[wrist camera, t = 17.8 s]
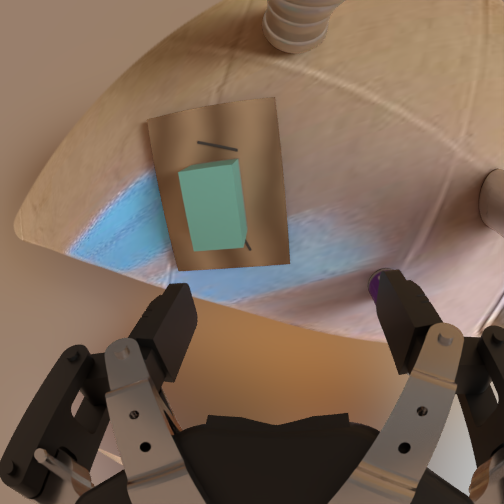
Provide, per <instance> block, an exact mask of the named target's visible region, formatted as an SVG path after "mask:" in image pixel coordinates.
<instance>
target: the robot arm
mask: <svg viewBox="0 0 504 504" xmlns="http://www.w3.org/2000/svg"><path fill="white" fill-rule="evenodd" d="M479 210H480V215H481V218H482V220H483V222H484V223H485V224H486V225H487V226H488V227H490V228H491V229H493V230H494V231H496V232H497V233H498V234H500V235H501V236H502V237H504V170H502V169H497V170H494V171H492V172H491V173H490V174H489V175H488V176H487V178H486V179H485V181H484V183H483V186H482V189H481V192H480V198H479ZM376 311H377V316H378V319H379V321H380V324H381V327H382V329H383V332H384V334H385V337H386V340H387V342H388V345H389V348H390V350H391V353H392V356H393V359H394V362H395V365H396V368H397V370H398V374H399V375H401V374H407V373H409V375H410V376H409V379H408V381H407V383H406V385H405V387H404V390H403V392H402V393H401V395H400V397H399V399H398V401H397V403H396V405H395V407H394V409H393V411H392V412H391V414H390V416H389V418H388V420H387V422H386V423H385V425H384V427H383V428H382V430H381V432H380V431H378V430H376V429H374V428H372V427H370V426H366V425H363V424H359V423H354V422H349V417H348V413H343V414H334V415H323V416H312V417H309V418H305V419H302V420H298V421H294V422H290V423H286V424H281V425H271V424H267V423H262V422H258V421H254V420H250V419H246V418H242V417H228V416H214V415H208V418H207V422H206V424H202V425H198V426H193V427H190V428H187V429H185V430H182V428H181V427H180V425H179V423H178V421H177V419H176V417H175V415H174V413H173V410H172V408H171V406H170V404H169V402H168V400H167V397H166V396H165V393H164V391H163V389H162V384H163V382H164V381H165V382H175V379H176V377H177V374H178V372H179V369H180V366H181V364H182V361H183V359H184V356H185V354H186V351H187V349H188V346H189V343H190V341H191V339H192V336H193V334H194V331H195V329H196V326H197V312H196V308H195V305H194V301H193V298H192V294H191V291H190V288H189V285H188V284H187V283H177V284H169V285H168V287H167V288H166V290H165V292H164V293H163V295H159V296H158V297H157V298H156V299H154V300H153V301H152V302H151V303H150V304H149V306H148V307H147V309H146V311H145V312H144V313H143V315H142V318H140V319H139V321H138V323H137V324H136V326H135V327H134V329H133V330H132V332H131V333H130V335H129V337H128V338H122V339H119V340H116V341H115V342H113V343H112V344H110V345H109V346H108V347H107V349H106V351H105V353H98V354H90V353H89V351H88V349H87V348H86V347H85V346H84V345H74V346H71V347H69V348H68V349H66V350H65V351H64V352H63V353H62V355H61V356H60V358H59V359H58V361H57V362H56V364H55V365H54V367H53V368H52V370H51V371H50V373H49V374H48V376H47V378H46V379H45V380H44V382H43V384H42V385H41V387H40V389H39V390H38V392H37V393H36V395H35V397H34V398H33V400H32V402H31V403H30V405H29V407H28V408H27V410H26V412H25V414H24V415H23V417H22V419H21V421H20V423H19V425H18V426H17V429H16V430H15V432H14V434H13V436H12V438H11V440H10V442H9V444H8V446H7V448H6V450H5V452H4V454H3V456H2V459H1V461H0V477H1V479H2V481H3V482H4V483H5V484H6V485H7V486H9V487H10V488H12V489H13V490H15V491H17V492H18V493H20V494H21V495H22V496H24V497H25V498H27V499H29V500H30V501H32V502H34V503H36V504H504V329H503V328H501V327H499V326H489V327H487V328H485V329H484V331H483V333H482V335H481V338H480V337H463V334H462V332H461V331H460V330H459V329H458V328H457V327H455V326H454V325H451V324H448V323H443V321H442V320H441V318H440V317H439V315H438V313H437V312H436V310H435V309H434V307H433V306H432V304H431V303H430V302H429V299H428V298H427V296H425V294H424V292H423V291H422V289H421V288H420V286H418V285H417V284H416V283H414V282H413V281H411V280H406V279H405V277H404V276H403V274H402V273H401V271H400V270H388V271H382V272H381V274H380V279H379V287H378V295H377V302H376ZM491 382H493V384H494V386H495V388H496V391H497V393H498V397H499V402H498V403H497V400H496V398H495V395H494V393H493V390H492V388H491V386H490V383H491ZM79 390H80V392H81V393H82V394H83V395H84V399H83V401H82V403H81V405H80V407H79V409H78V411H77V413H76V415H75V417H73V416H72V413H71V406H72V403H73V401H74V399H75V397H76V396H77V394H78V392H79ZM455 394H457V396H458V399H459V402H460V404H461V408H462V411H463V414H464V418H465V421H466V425H467V428H468V432H469V435H470V439H471V443H472V447H473V451H474V456H475V460H476V465H477V469H476V471H475V472H474V474H473V477H472V480H471V484H470V486H469V493H470V495H469V497H468V496H467V495H466V494H464V493H462V492H461V491H460V490H458V489H457V488H455V487H454V486H452V485H451V484H450V483H448V482H447V481H445V480H444V479H442V478H441V477H440V476H438V475H437V474H435V473H434V472H433V471H431V470H430V469H429V468H427V465H428V463H429V461H430V459H431V457H432V454H433V452H434V450H435V448H436V445H437V443H438V441H439V438H440V436H441V433H442V431H443V428H444V426H445V423H446V420H447V417H448V414H449V411H450V408H451V405H452V402H453V399H454V396H455ZM109 421H111V424H112V429H113V433H114V436H115V440H116V444H117V447H118V451H119V454H120V457H121V460H122V463H123V466H124V470H122V471H121V472H119V473H117V474H116V475H114V476H112V477H111V478H109V479H107V480H105V481H104V482H102V483H100V484H99V485H97V486H94V484H93V483H92V482H91V476H90V470H91V467H92V464H93V461H94V459H95V456H96V454H97V451H98V448H99V446H100V443H101V441H102V438H103V436H104V433H105V431H106V428H107V426H108V423H109Z"/></svg>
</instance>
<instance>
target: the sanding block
mask: <svg viewBox="0 0 504 504" xmlns="http://www.w3.org/2000/svg"><path fill="white" fill-rule="evenodd" d="M178 175H179V180H180V186H181V191H182V196H183V202H184V207H185V212H186V217H187V222H188V227H189V231H190V236H191V241H192V245H193V250H194V251H207V250H220V249H233V248H244V243H245V239H246V235H247V230H248V226H247V218H246V210H245V203H244V195H243V187H242V179H241V172H240V164H239V158H234V159H226V160H218V161H211V162H204V163H198V164H193V165H191V166H189V167H187V168H185V169H183V170H181V171H180V172H178Z"/></svg>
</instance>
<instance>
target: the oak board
mask: <svg viewBox="0 0 504 504" xmlns="http://www.w3.org/2000/svg"><path fill="white" fill-rule="evenodd" d="M147 124H148V130H149V137H150V143H151V149H152V155H153V160H154V166H155V171H156V176H157V181H158V186H159V191H160V196H161V201H162V205H163V210H164V214H165V219H166V223H167V228H168V232H169V236H170V240H171V244H172V248H173V252H174V256H175V260H176V264H177V267H178V271H191V270H208V269H223V268H239V267H253V266H268V265H282V264H290V255H289V239H288V225H287V212H286V200H285V188H284V177H283V166H282V156H281V146H280V137H279V128H278V119H277V110H276V102H275V97H273V98H262V99H253V100H244V101H237V102H230V103H223V104H217V105H211V106H205V107H200V108H195V109H190V110H185V111H181V112H176V113H172V114H168V115H164V116H160V117H156V118H152V119H148V120H147ZM234 158H239V164H240V172H241V179H242V187H243V195H244V203H245V210H246V218H247V226H248V230H247V235H246V239H245V243H244V248H233V249H220V250H207V251H194V250H193V245H192V241H191V236H190V231H189V227H188V222H187V217H186V212H185V207H184V202H183V196H182V191H181V186H180V180H179V175H178V172H180V171H181V170H183V169H185V168H187V167H189V166H191V165H193V164H198V163H204V162H211V161H218V160H226V159H234Z"/></svg>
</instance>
